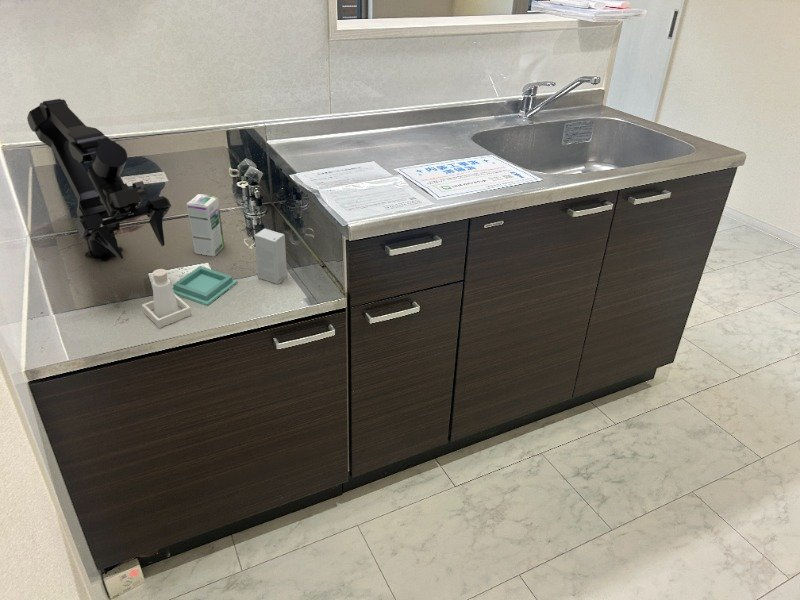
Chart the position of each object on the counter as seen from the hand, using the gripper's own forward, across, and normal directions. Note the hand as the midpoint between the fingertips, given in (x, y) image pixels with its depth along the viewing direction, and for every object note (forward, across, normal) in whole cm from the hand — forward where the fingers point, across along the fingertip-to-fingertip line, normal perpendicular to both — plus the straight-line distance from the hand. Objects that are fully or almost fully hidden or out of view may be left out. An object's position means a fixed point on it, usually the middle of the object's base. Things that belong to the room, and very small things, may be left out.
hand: (143, 252), depth 130 cm
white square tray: (+14, 0, +4) cm, 14 cm away
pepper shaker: (+14, 0, +4) cm, 15 cm away
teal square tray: (+11, +11, +7) cm, 17 cm away
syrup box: (+1, +21, +18) cm, 27 cm away
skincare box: (+15, +26, +3) cm, 31 cm away
